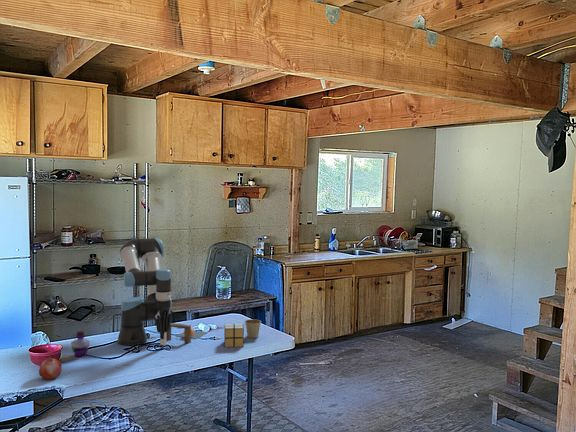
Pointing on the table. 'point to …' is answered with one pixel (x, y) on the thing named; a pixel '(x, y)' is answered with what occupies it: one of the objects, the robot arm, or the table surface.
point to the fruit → (50, 368)
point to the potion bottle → (80, 344)
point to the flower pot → (252, 327)
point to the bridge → (187, 332)
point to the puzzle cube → (234, 335)
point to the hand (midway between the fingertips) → (163, 344)
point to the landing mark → (195, 335)
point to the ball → (191, 332)
